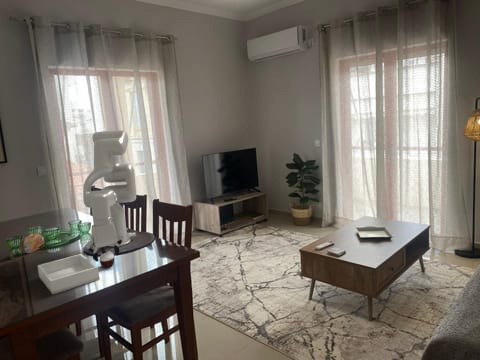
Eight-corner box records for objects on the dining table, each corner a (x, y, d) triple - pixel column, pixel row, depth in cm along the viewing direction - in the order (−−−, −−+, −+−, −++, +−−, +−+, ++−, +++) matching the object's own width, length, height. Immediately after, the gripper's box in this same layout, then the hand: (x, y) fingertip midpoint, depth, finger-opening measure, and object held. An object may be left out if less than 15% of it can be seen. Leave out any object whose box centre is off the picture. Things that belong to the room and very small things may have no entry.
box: (82, 264, 166) (81, 253, 165) (99, 279, 149) (98, 266, 148) (39, 277, 154) (37, 265, 153) (52, 294, 138) (50, 281, 137)
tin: (25, 255, 182) (22, 239, 181) (20, 255, 183) (17, 239, 181) (46, 245, 197) (44, 230, 195) (41, 245, 197) (39, 230, 196)
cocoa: (115, 268, 161) (114, 243, 158) (101, 271, 158) (99, 245, 156) (113, 260, 169) (111, 236, 167) (99, 263, 166) (97, 238, 164)
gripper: (118, 215, 168) (122, 250, 171) (79, 224, 157) (84, 261, 160) (124, 218, 162) (128, 254, 165) (85, 227, 151) (90, 265, 154)
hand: (106, 257), depth 163 cm, fingers open, 9 cm apart
